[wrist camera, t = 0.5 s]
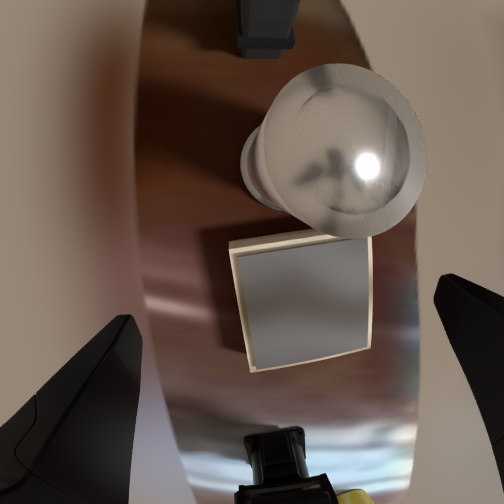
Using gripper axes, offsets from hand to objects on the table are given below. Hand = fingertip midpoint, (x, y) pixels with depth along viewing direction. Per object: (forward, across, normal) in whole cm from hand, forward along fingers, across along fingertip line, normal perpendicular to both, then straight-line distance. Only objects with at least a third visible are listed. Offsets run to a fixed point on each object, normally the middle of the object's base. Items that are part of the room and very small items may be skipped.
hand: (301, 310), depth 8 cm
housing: (+15, -3, 0) cm, 15 cm away
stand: (+13, -3, +9) cm, 16 cm away
